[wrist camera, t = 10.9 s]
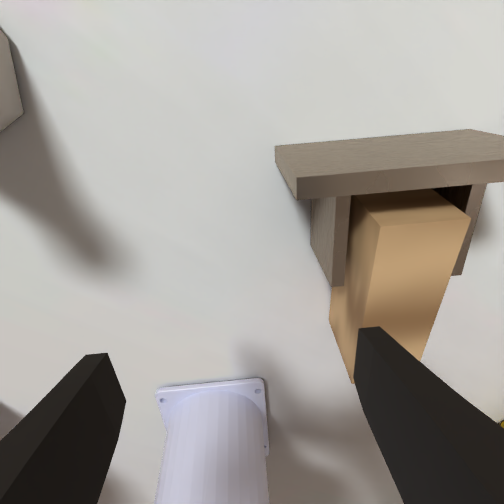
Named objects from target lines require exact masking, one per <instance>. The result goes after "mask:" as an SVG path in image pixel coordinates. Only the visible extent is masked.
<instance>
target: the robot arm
mask: <svg viewBox="0 0 504 504" xmlns="http://www.w3.org/2000/svg"><path fill="white" fill-rule="evenodd" d="M353 379H354V382H355V386H356V389H357V392H358V395H359V399H360V402H361V405H362V408H363V411H364V414H365V416H366V418H367V421H368V423H369V425H370V428H371V430H372V432H373V434H374V437H375V439H376V441H377V443H378V446H379V448H380V450H381V452H382V455H383V457H384V459H385V461H386V464H387V466H388V468H389V470H390V473H391V475H392V477H393V479H394V482H395V484H396V486H397V488H398V491H399V493H400V495H401V497H402V500H403V502H404V504H504V428H503V427H501V426H500V425H499V424H497V423H496V422H495V421H493V420H492V419H491V418H489V417H488V416H487V415H485V414H484V413H483V412H481V411H480V410H479V409H477V408H476V407H475V406H473V405H472V404H471V403H469V402H468V401H467V400H466V399H464V398H463V397H462V396H461V395H459V394H458V393H457V392H456V391H454V390H453V389H452V388H451V387H449V386H448V385H447V384H446V383H445V382H443V381H442V380H441V379H440V378H439V377H437V376H436V375H435V374H434V373H433V372H431V371H430V370H429V369H428V368H427V367H426V366H424V365H423V364H422V363H421V362H420V361H419V360H417V359H416V358H415V357H414V356H413V355H412V354H411V353H409V352H408V351H407V350H406V349H405V348H404V347H403V346H401V345H400V344H399V343H398V342H397V341H396V340H395V339H394V338H392V337H391V336H390V335H389V334H388V333H387V332H386V331H384V330H383V329H382V328H381V327H380V326H377V327H367V328H359V329H358V338H357V347H356V356H355V365H354V374H353ZM155 397H156V400H157V403H158V406H159V409H160V412H161V416H162V419H163V422H164V425H165V428H166V431H167V434H166V440H165V445H164V451H163V456H162V462H161V467H160V473H159V478H158V484H157V489H156V495H155V501H154V504H270V501H269V490H268V480H267V469H266V458H265V457H266V456H268V455H269V453H270V452H269V439H268V427H267V414H266V402H265V389H264V381H263V380H262V379H260V378H252V379H242V380H232V381H222V382H212V383H202V384H192V385H182V386H172V387H162V388H159V389H157V390H156V394H155ZM125 404H126V399H125V396H124V394H123V391H122V389H121V386H120V384H119V381H118V379H117V376H116V374H115V371H114V368H113V366H112V363H111V361H110V358H109V356H108V353H100V354H90V355H85V356H84V357H83V358H82V359H81V360H80V361H79V362H78V363H77V364H76V365H75V366H74V367H73V368H72V369H71V370H70V371H69V372H68V373H67V374H66V375H65V376H64V377H63V379H62V380H61V381H60V382H59V383H58V384H57V385H56V386H55V387H54V388H53V389H52V390H51V391H50V392H49V393H48V394H47V395H46V396H45V397H44V398H43V399H42V400H41V401H40V402H39V403H38V404H37V405H36V406H35V407H34V408H33V409H32V410H31V411H30V412H29V413H28V414H27V415H26V416H25V417H24V418H23V419H22V420H21V421H20V422H19V423H18V424H17V425H16V426H15V427H14V428H13V429H12V430H11V431H10V432H9V433H8V434H7V435H6V436H5V437H4V438H3V439H2V440H1V441H0V504H97V502H98V499H99V496H100V493H101V490H102V487H103V484H104V481H105V478H106V475H107V472H108V469H109V466H110V463H111V460H112V457H113V454H114V451H115V448H116V444H117V441H118V438H119V433H120V429H121V424H122V419H123V414H124V409H125Z"/></svg>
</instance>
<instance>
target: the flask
mask: <svg viewBox="0 0 504 504" xmlns="http://www.w3.org/2000/svg"><path fill="white" fill-rule="evenodd" d="M22 114H24V112H23V108H22V103H21V98H20V94H19V89H18V84H17V80H16V75H15V70H14V66H13V61H12V56H11V52H10V47H9V42H8V38H7V37H6V36H5V35H4V33H3V32H2V31H1V30H0V132H1V131H2V130H4V129H5V128H6V127H7V126H9V125H10V124H11V123H12V122H14V121H15V120H16V119H17V118H19V117H20V116H21V115H22Z"/></svg>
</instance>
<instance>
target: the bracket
mask: <svg viewBox="0 0 504 504" xmlns="http://www.w3.org/2000/svg"><path fill="white" fill-rule="evenodd" d="M275 162H276V164H277V166H278V168H279V170H280V171H281V173H282V175H283V177H284V179H285V180H286V182H287V184H288V186H289V187H290V189H291V191H292V193H293V195H294V196H295V198H296V200H305V199H311V247H312V249H313V251H314V253H315V255H316V257H317V259H318V261H319V263H320V265H321V267H322V269H323V271H324V273H325V275H326V277H327V279H328V282H329V284H330V286H331V287H339V286H344V279H345V266H346V253H347V240H348V227H349V214H350V201H351V195H361V194H372V193H383V192H394V191H405V190H416V189H427V188H431V189H432V190H434V191H435V192H436V193H438V194H439V195H441V196H442V197H443V198H445V199H446V200H447V201H449V202H450V203H451V204H453V205H454V206H455V207H457V208H458V209H459V210H461V211H462V212H463V213H465V214H466V215H468V216H469V217H470V218H471V221H470V224H469V227H468V229H467V232H466V235H465V238H464V240H463V243H462V246H461V249H460V252H459V254H458V257H457V260H456V263H455V265H454V268H453V271H452V274H451V276H455V275H461V274H462V271H463V267H464V263H465V260H466V256H467V253H468V249H469V246H470V242H471V239H472V235H473V231H474V228H475V224H476V221H477V217H478V214H479V210H480V206H481V203H482V199H483V196H484V192H485V189H486V185H487V183H494V182H504V136H502V135H497V134H492V133H487V132H482V131H477V130H472V129H466V130H454V131H443V132H431V133H419V134H408V135H396V136H385V137H373V138H362V139H350V140H338V141H327V142H315V143H304V144H292V145H281V146H275Z"/></svg>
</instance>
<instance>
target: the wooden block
mask: <svg viewBox="0 0 504 504" xmlns="http://www.w3.org/2000/svg"><path fill="white" fill-rule="evenodd" d="M470 221H471V218H470V217H469V216H468V215H466V214H465V213H463V212H462V211H461V210H459V209H458V208H457V207H455V206H454V205H453V204H451V203H450V202H449V201H447V200H446V199H445V198H443V197H442V196H441V195H439V194H438V193H436V192H435V191H434V190H432V189H431V188H427V189H416V190H405V191H394V192H383V193H372V194H361V195H351V201H350V214H349V227H348V240H347V253H346V266H345V279H344V286H339V287H332V292H331V302H330V313H329V322H330V325H331V328H332V331H333V333H334V336H335V339H336V342H337V344H338V347H339V350H340V353H341V355H342V358H343V361H344V364H345V367H346V369H347V372H348V375H349V378H350V380H351V383H352V384H355V382H354V379H353V374H354V365H355V356H356V347H357V338H358V329H359V328H367V327H377V326H380V327H381V328H382V329H383V330H384V331H386V332H387V333H388V334H389V335H390V336H391V337H392V338H394V339H395V340H396V341H397V342H398V343H399V344H400V345H401V346H403V347H404V348H405V349H406V350H407V351H408V352H409V353H411V354H412V355H413V356H414V357H415V358H416V359H417V360H419V361H420V360H421V357H422V354H423V351H424V349H425V346H426V343H427V340H428V338H429V335H430V332H431V329H432V326H433V324H434V321H435V318H436V315H437V313H438V310H439V307H440V304H441V301H442V299H443V296H444V293H445V290H446V288H447V285H448V282H449V279H450V277H451V274H452V271H453V268H454V265H455V263H456V260H457V257H458V254H459V252H460V249H461V246H462V243H463V240H464V238H465V235H466V232H467V229H468V227H469V224H470Z"/></svg>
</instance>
